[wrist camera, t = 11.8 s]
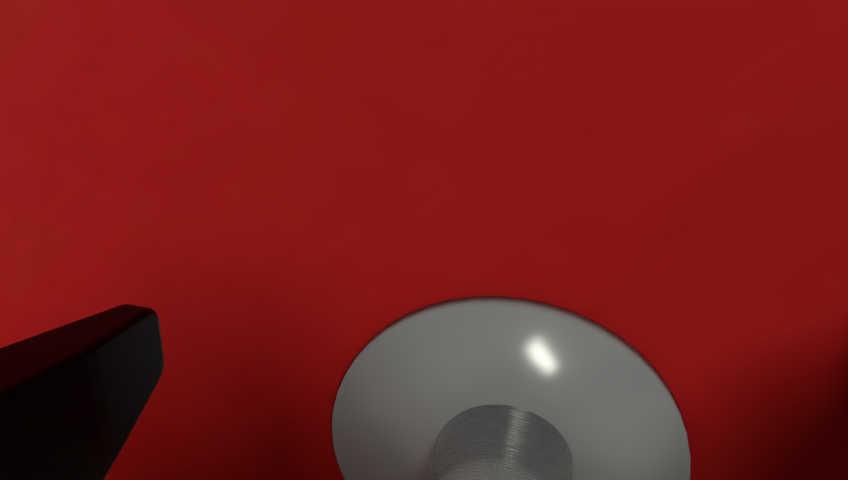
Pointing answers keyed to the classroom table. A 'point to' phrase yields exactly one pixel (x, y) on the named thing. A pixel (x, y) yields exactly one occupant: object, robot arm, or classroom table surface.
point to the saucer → (506, 390)
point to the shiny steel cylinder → (500, 447)
